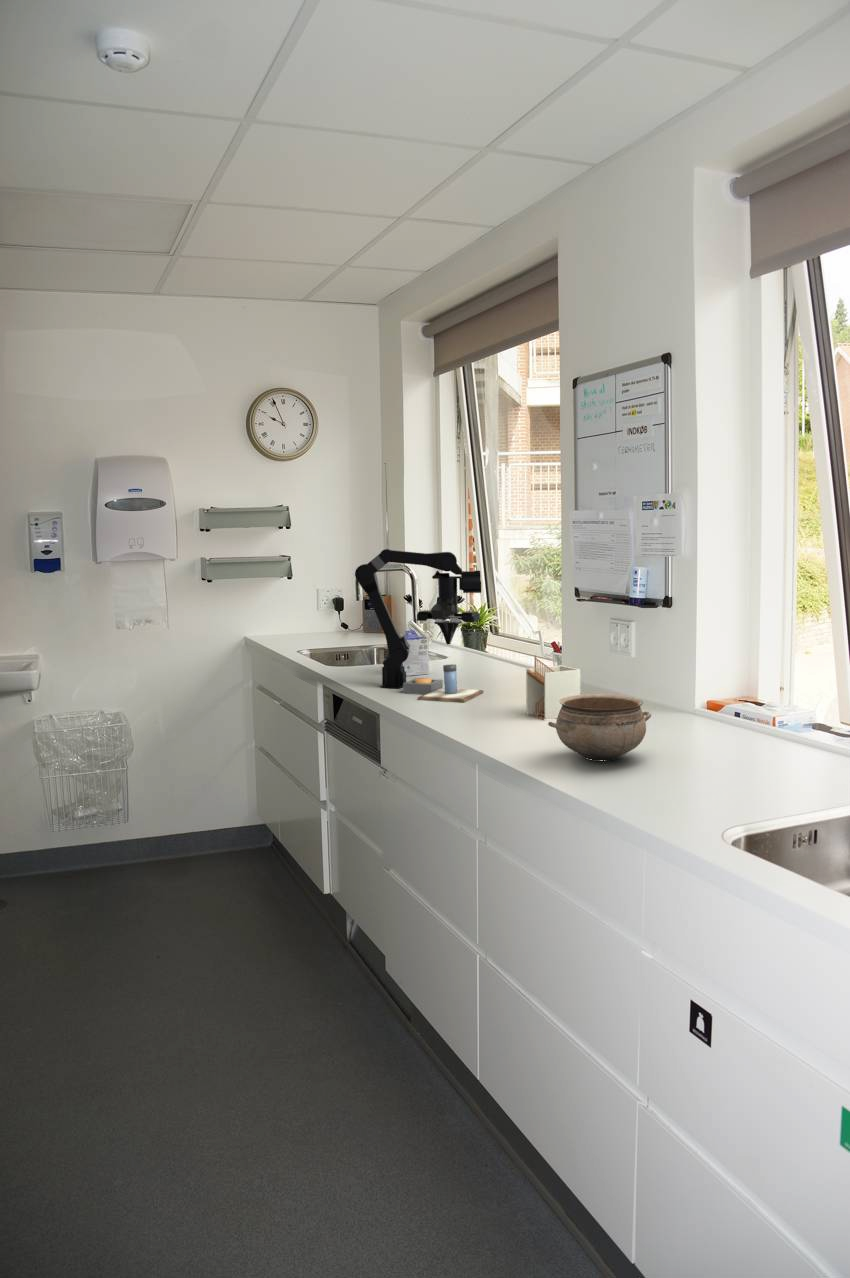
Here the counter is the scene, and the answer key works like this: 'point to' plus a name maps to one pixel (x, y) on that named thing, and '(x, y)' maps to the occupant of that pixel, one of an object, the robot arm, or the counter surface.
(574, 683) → the model staircase
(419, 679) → the button
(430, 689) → the button housing
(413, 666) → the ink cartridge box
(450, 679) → the blue tumbler
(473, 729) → the counter surface
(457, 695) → the board
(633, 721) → the cooking pot
